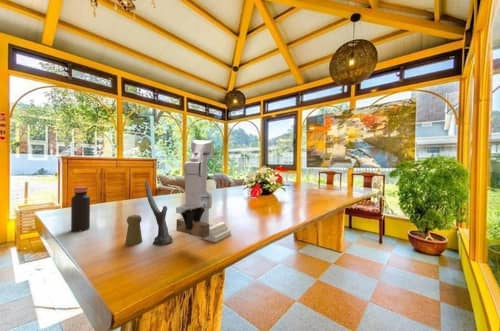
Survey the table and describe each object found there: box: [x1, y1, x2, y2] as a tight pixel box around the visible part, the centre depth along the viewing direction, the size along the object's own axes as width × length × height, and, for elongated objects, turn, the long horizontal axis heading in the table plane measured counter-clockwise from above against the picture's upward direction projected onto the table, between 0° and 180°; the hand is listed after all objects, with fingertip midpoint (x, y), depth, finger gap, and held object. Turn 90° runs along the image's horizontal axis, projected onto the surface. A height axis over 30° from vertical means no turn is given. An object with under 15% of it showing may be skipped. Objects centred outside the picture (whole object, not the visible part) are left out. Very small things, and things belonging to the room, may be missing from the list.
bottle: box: [70, 186, 91, 233], centre depth 96 cm, size 7×7×20 cm
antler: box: [144, 180, 174, 246], centre depth 84 cm, size 12×8×25 cm
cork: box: [125, 214, 143, 246], centre depth 83 cm, size 6×6×11 cm
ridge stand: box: [200, 221, 232, 243], centre depth 92 cm, size 8×11×5 cm
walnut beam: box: [175, 217, 210, 238], centre depth 79 cm, size 14×3×4 cm, turn 61°
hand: (192, 228), depth 79 cm, fingers closed on walnut beam, 3 cm apart
